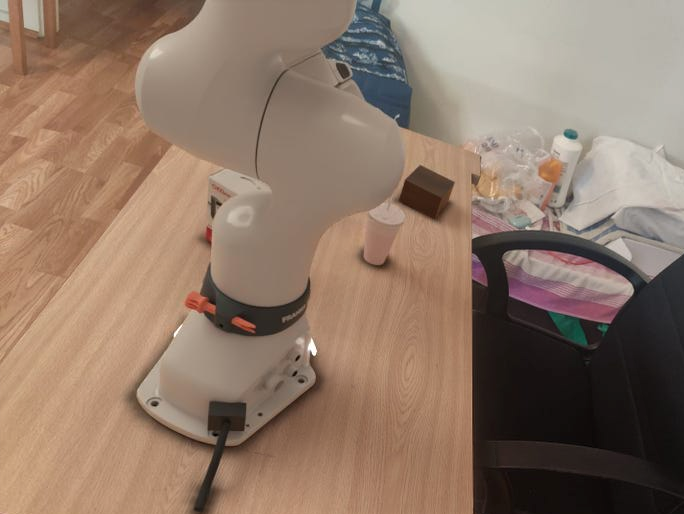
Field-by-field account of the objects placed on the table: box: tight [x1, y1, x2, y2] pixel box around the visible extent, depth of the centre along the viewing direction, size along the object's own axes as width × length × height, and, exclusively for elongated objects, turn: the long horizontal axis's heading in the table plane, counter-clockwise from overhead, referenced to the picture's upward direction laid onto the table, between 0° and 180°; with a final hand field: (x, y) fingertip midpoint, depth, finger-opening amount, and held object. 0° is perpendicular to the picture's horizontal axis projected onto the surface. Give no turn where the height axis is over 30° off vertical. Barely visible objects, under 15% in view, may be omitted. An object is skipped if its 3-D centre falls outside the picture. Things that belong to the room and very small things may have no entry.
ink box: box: [205, 167, 270, 244], centre depth 91 cm, size 9×5×12 cm, turn 65°
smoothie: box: [363, 191, 406, 266], centre depth 100 cm, size 6×6×14 cm
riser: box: [398, 164, 456, 220], centre depth 121 cm, size 8×8×5 cm
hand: (353, 172), depth 96 cm, fingers open, 8 cm apart
